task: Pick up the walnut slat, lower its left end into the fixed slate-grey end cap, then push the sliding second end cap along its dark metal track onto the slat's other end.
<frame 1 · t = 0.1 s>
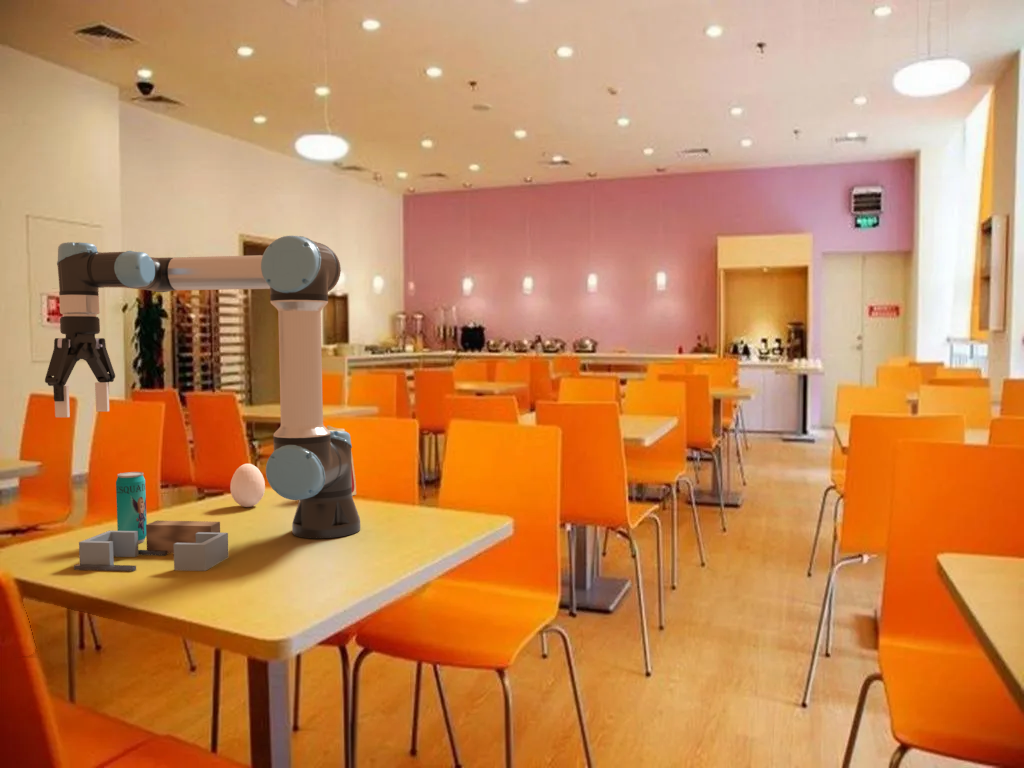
hand: (83, 414, 174), 28 cm above the table, fingers open, 13 cm apart
milk carton: (335, 496, 227), on the table
egg: (248, 507, 212), on the table
cap a: (199, 563, 158), on the table
track: (122, 561, 159), on the table
beverage can: (132, 543, 175), on the table
cap b: (109, 549, 160), point 2 cm above the table, slide at 0.0 cm
slat: (184, 551, 167), on the table
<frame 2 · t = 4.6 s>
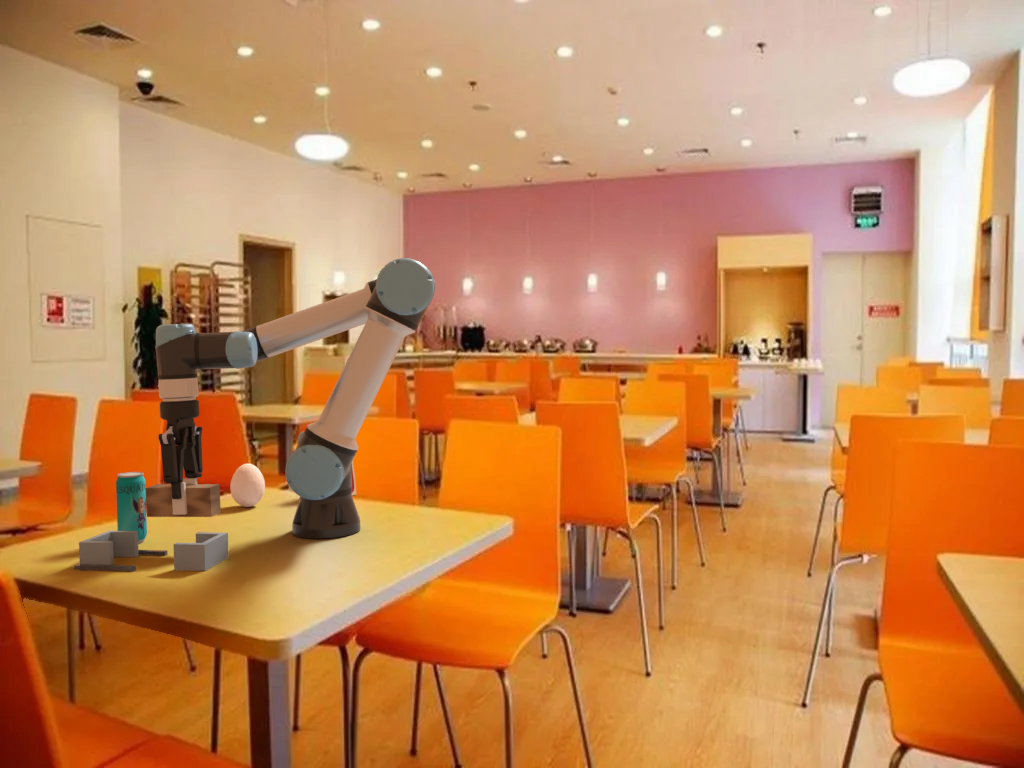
hand: (186, 511, 167), 8 cm above the table, fingers closed on slat, 4 cm apart
slat: (184, 514, 167), point 8 cm above the table, touching gripper
everything else where it was.
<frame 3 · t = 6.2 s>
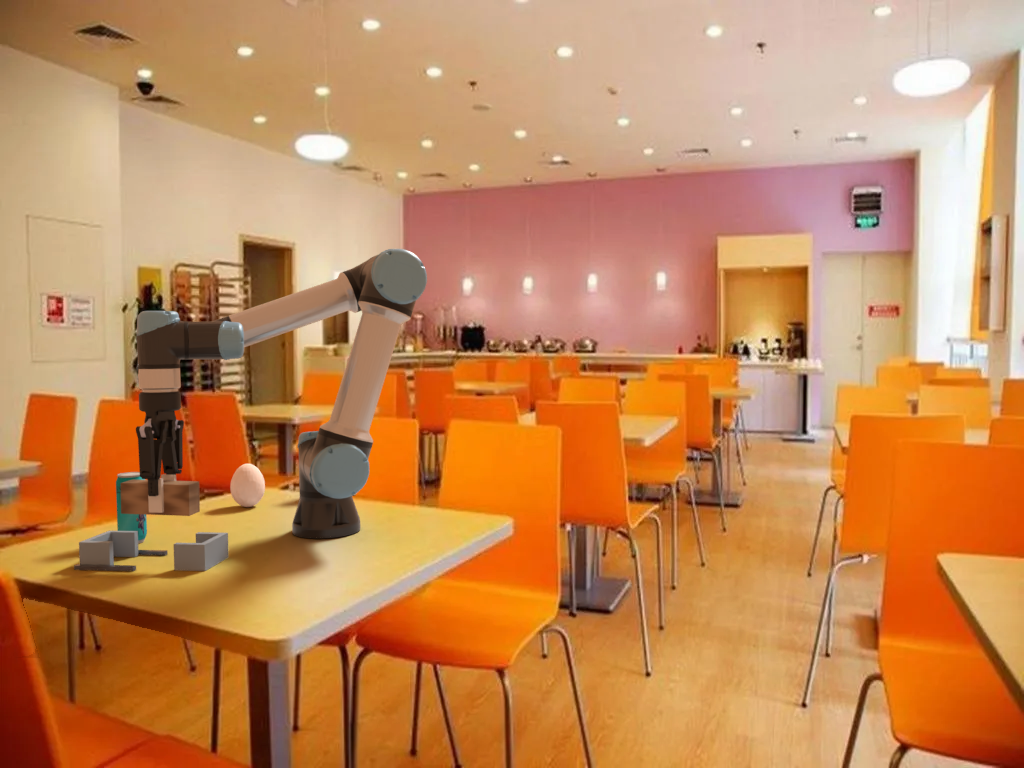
hand: (163, 509, 158), 11 cm above the table, fingers closed on slat, 4 cm apart
slat: (160, 512, 158), point 10 cm above the table, touching gripper
everything else where it was.
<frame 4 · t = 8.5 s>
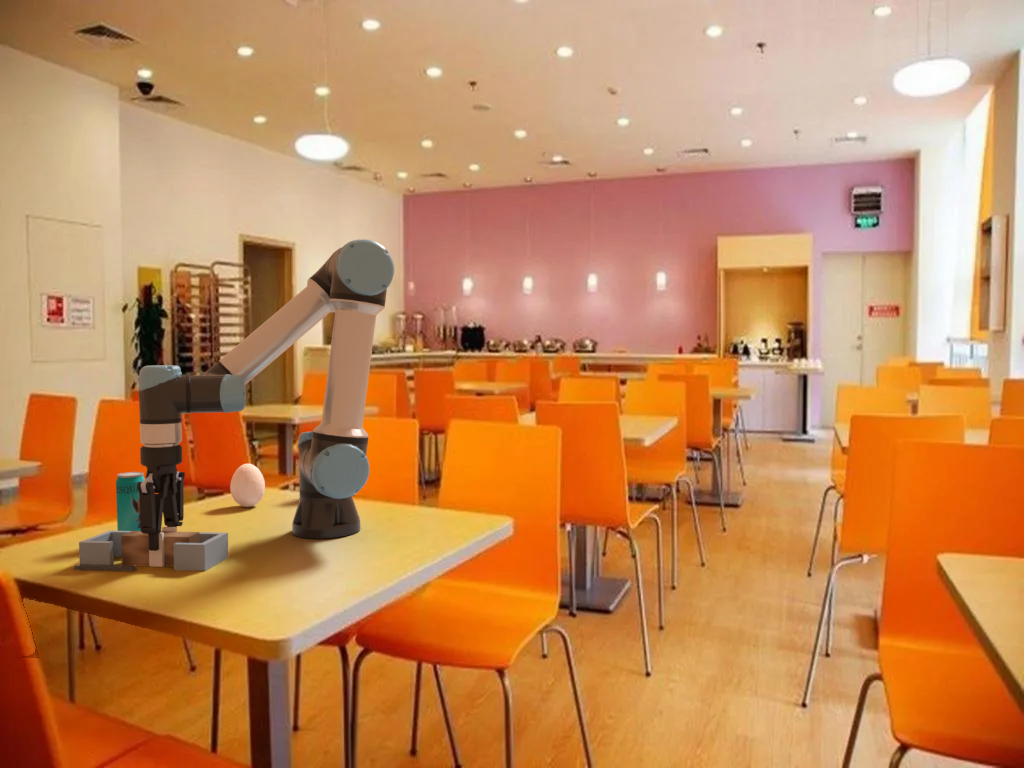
hand: (163, 562, 158), 0 cm above the table, fingers closed on slat, 4 cm apart
slat: (161, 564, 158), on the table, touching gripper
everything else where it was.
when the fingers open (0 cm above the table, at t = 9.5 s): slat stays where it is, on the table.
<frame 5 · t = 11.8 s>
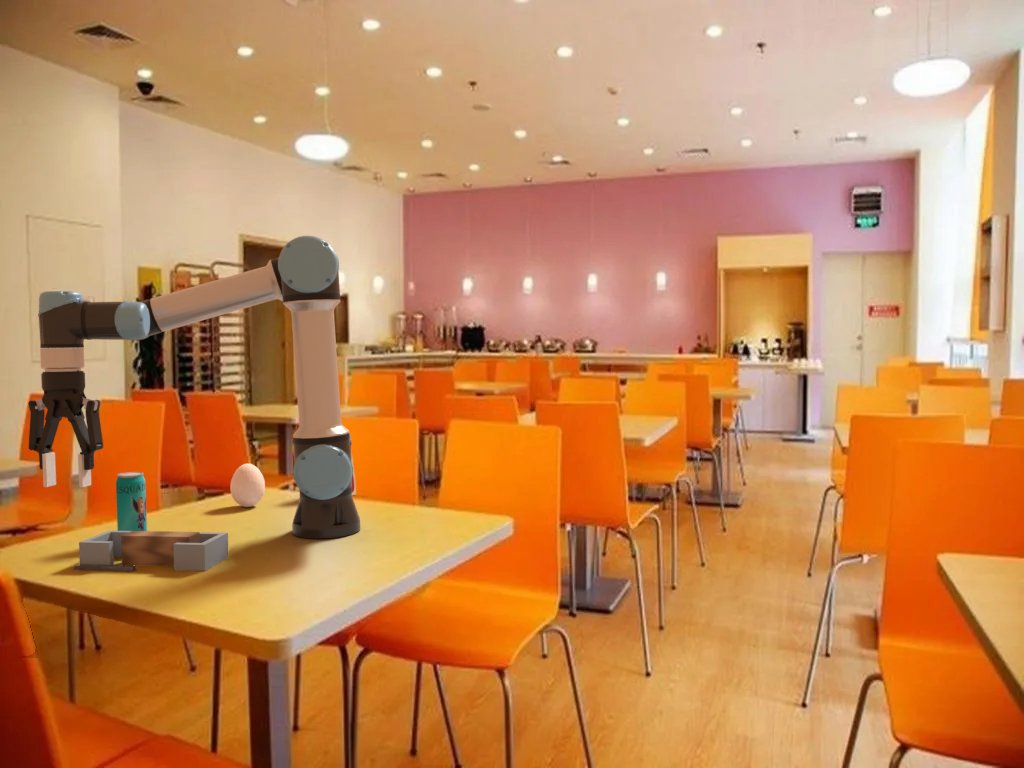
hand: (67, 485, 160), 15 cm above the table, fingers open, 7 cm apart
slat: (161, 564, 158), on the table
everything else where it was.
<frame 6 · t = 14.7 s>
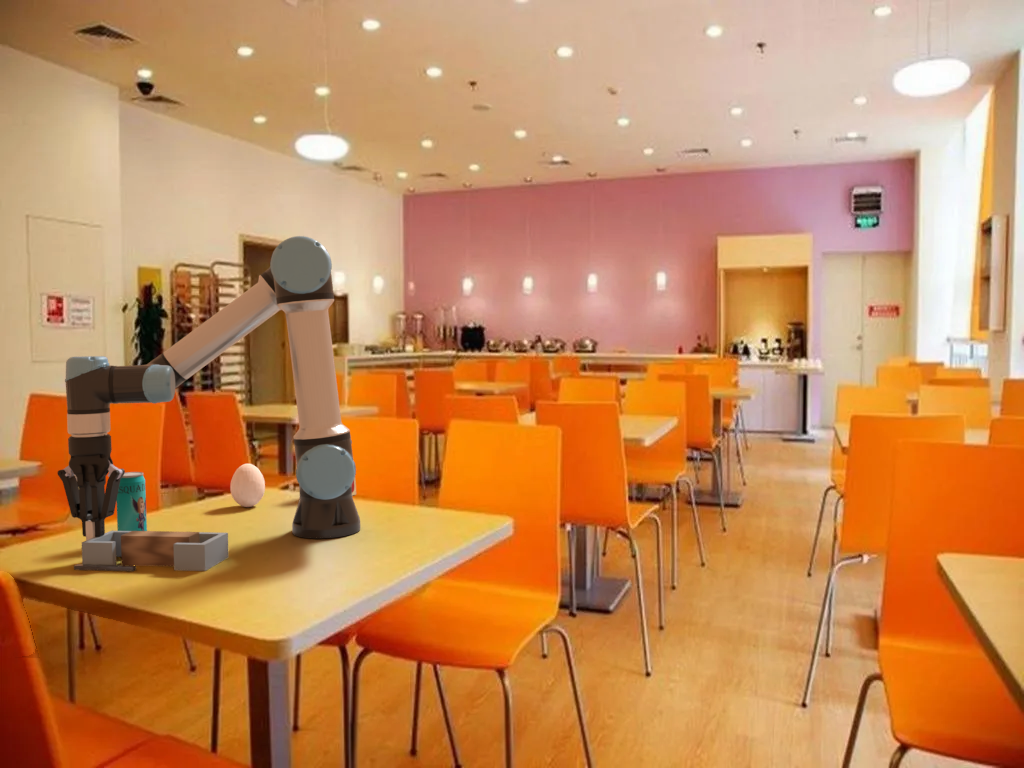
hand: (94, 552, 160), 2 cm above the table, fingers closed
cap b: (112, 549, 159), point 2 cm above the table, slide at 0.6 cm, touching gripper
everything else where it was.
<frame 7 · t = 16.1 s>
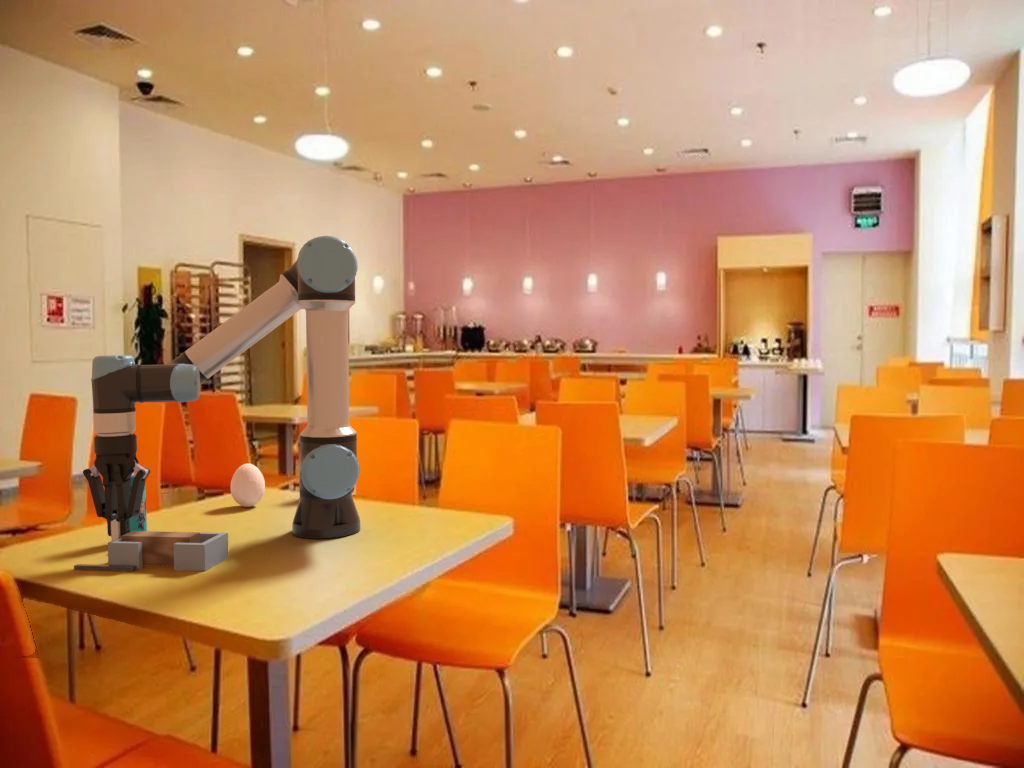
hand: (119, 552, 159), 2 cm above the table, fingers closed
cap b: (137, 549, 159), point 2 cm above the table, slide at 5.9 cm, touching gripper
everything else where it was.
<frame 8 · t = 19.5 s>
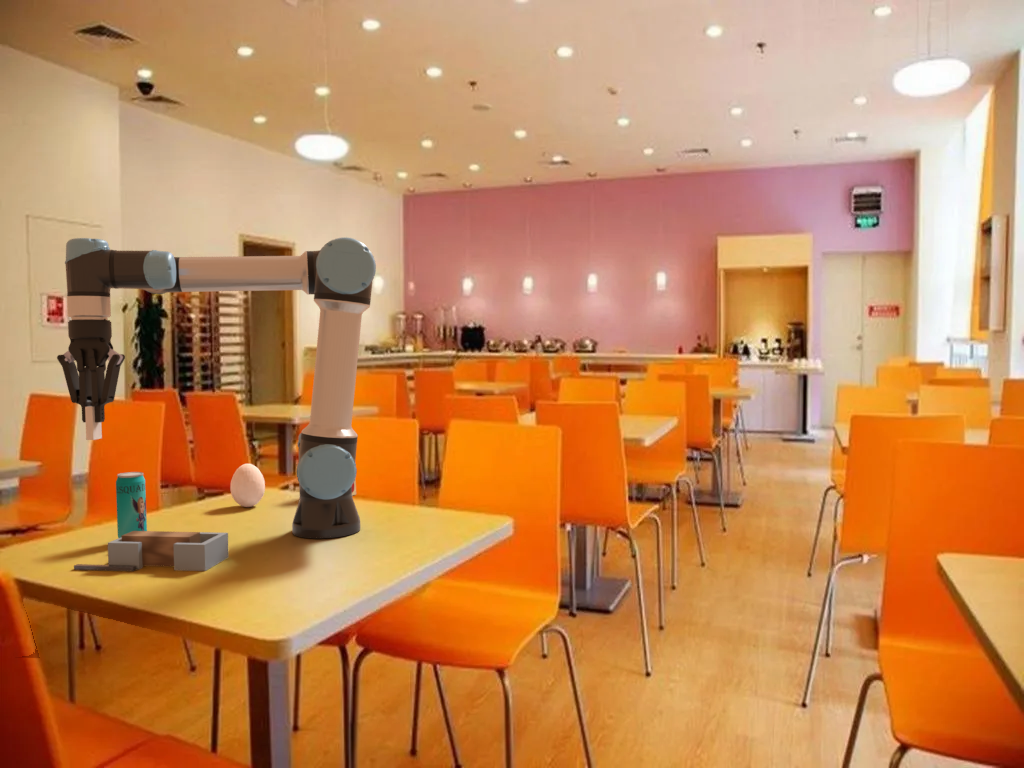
hand: (94, 438, 159), 24 cm above the table, fingers closed
cap b: (137, 549, 159), point 3 cm above the table, slide at 5.9 cm
everything else where it was.
at the end: slat 0.6 cm from the target spot on the table beside the cap a, on the table; cap b slide at 5.9 cm; slat tilted 0° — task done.
